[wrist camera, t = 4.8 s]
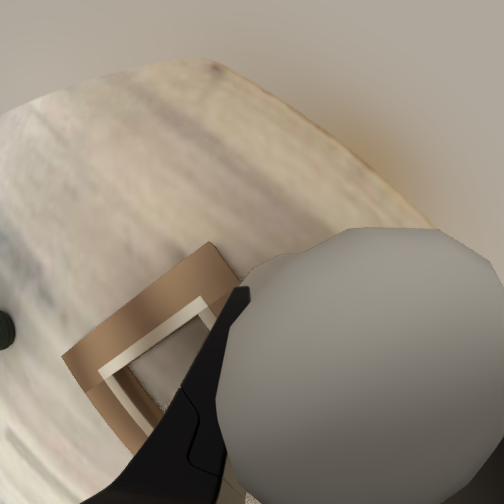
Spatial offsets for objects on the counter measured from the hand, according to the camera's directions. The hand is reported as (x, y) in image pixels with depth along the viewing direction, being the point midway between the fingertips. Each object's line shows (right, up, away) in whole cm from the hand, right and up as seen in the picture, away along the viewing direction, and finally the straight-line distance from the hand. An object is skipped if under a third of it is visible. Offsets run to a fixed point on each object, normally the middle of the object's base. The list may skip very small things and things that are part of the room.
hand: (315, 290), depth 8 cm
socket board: (-6, -8, +12) cm, 16 cm away
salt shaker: (0, -2, +7) cm, 7 cm away
